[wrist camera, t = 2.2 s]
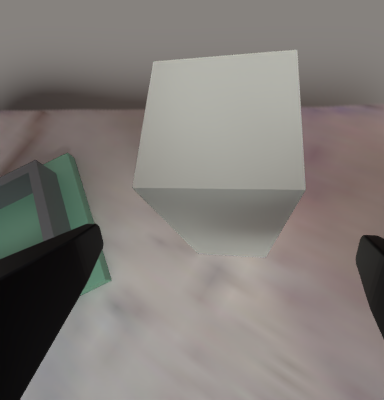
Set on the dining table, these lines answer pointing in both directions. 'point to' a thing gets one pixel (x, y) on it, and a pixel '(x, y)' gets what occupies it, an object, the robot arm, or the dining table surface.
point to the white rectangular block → (223, 149)
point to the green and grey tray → (45, 209)
